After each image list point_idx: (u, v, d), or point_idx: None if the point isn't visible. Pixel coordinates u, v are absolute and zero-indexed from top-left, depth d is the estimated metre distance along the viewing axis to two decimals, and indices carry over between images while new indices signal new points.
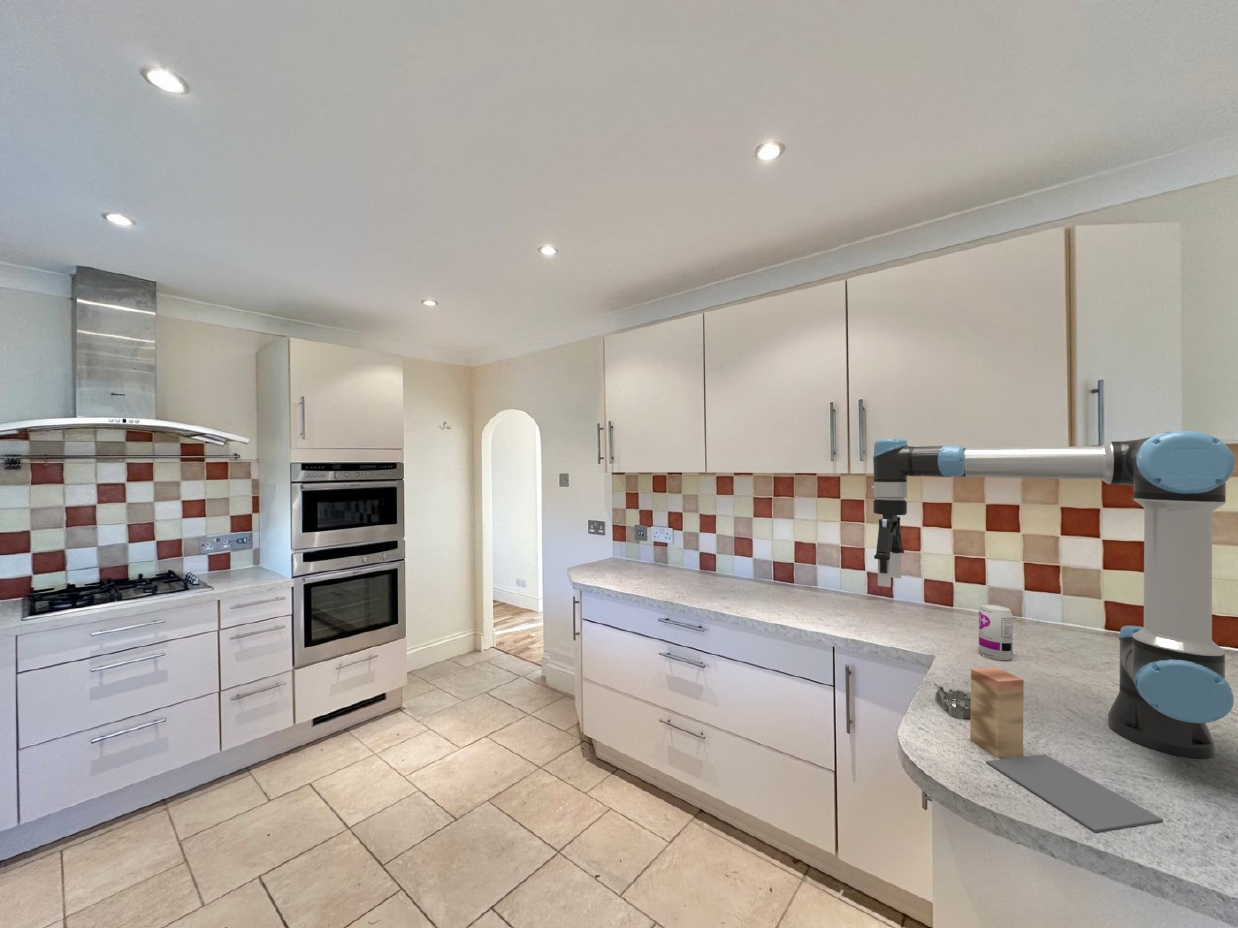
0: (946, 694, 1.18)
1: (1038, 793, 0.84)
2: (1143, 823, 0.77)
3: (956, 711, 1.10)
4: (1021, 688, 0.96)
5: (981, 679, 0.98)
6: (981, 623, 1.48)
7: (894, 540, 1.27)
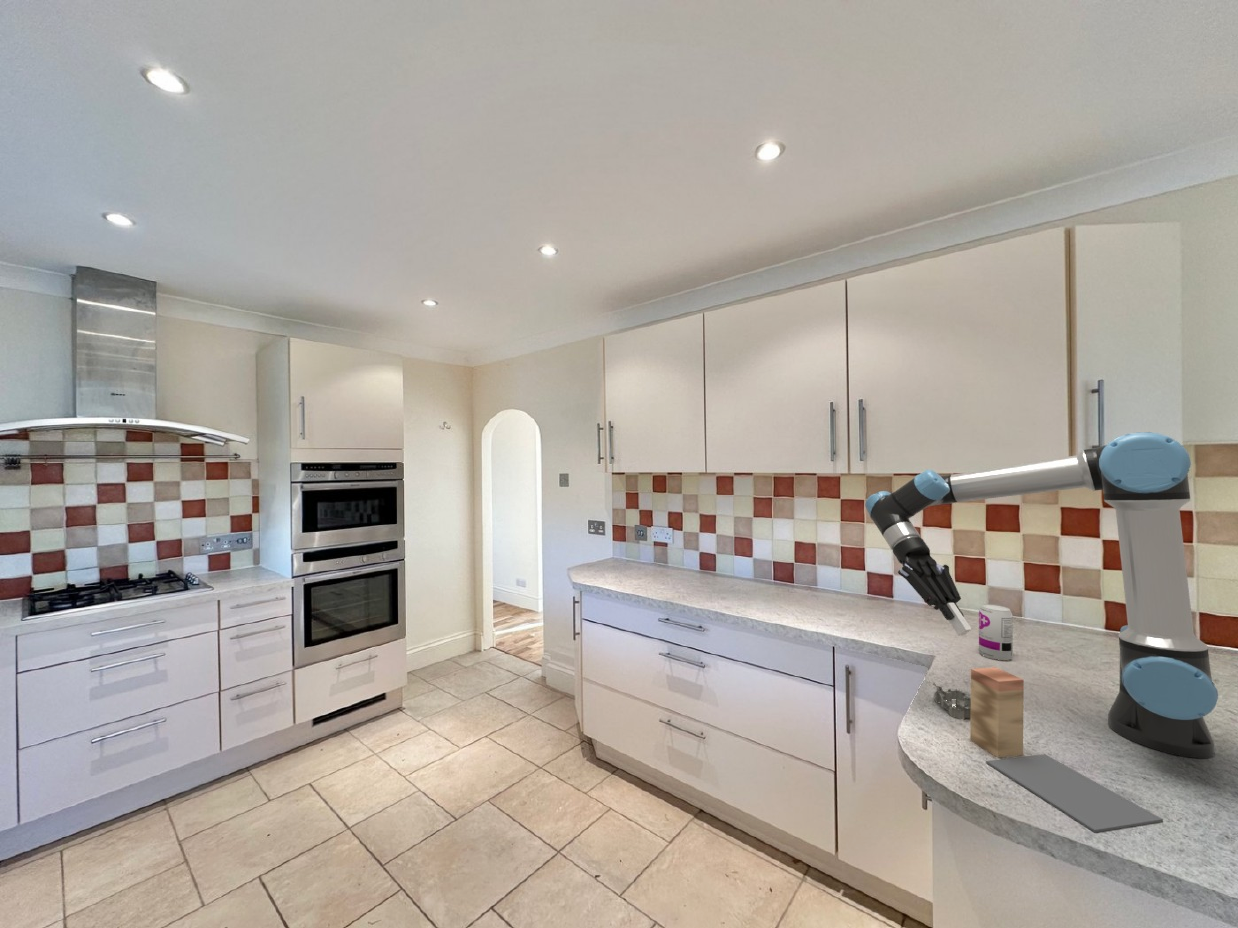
0: (945, 694, 1.18)
1: (1038, 793, 0.84)
2: (1143, 823, 0.77)
3: (956, 712, 1.10)
4: (1021, 688, 0.96)
5: (981, 678, 0.98)
6: (981, 623, 1.48)
7: (937, 584, 1.14)
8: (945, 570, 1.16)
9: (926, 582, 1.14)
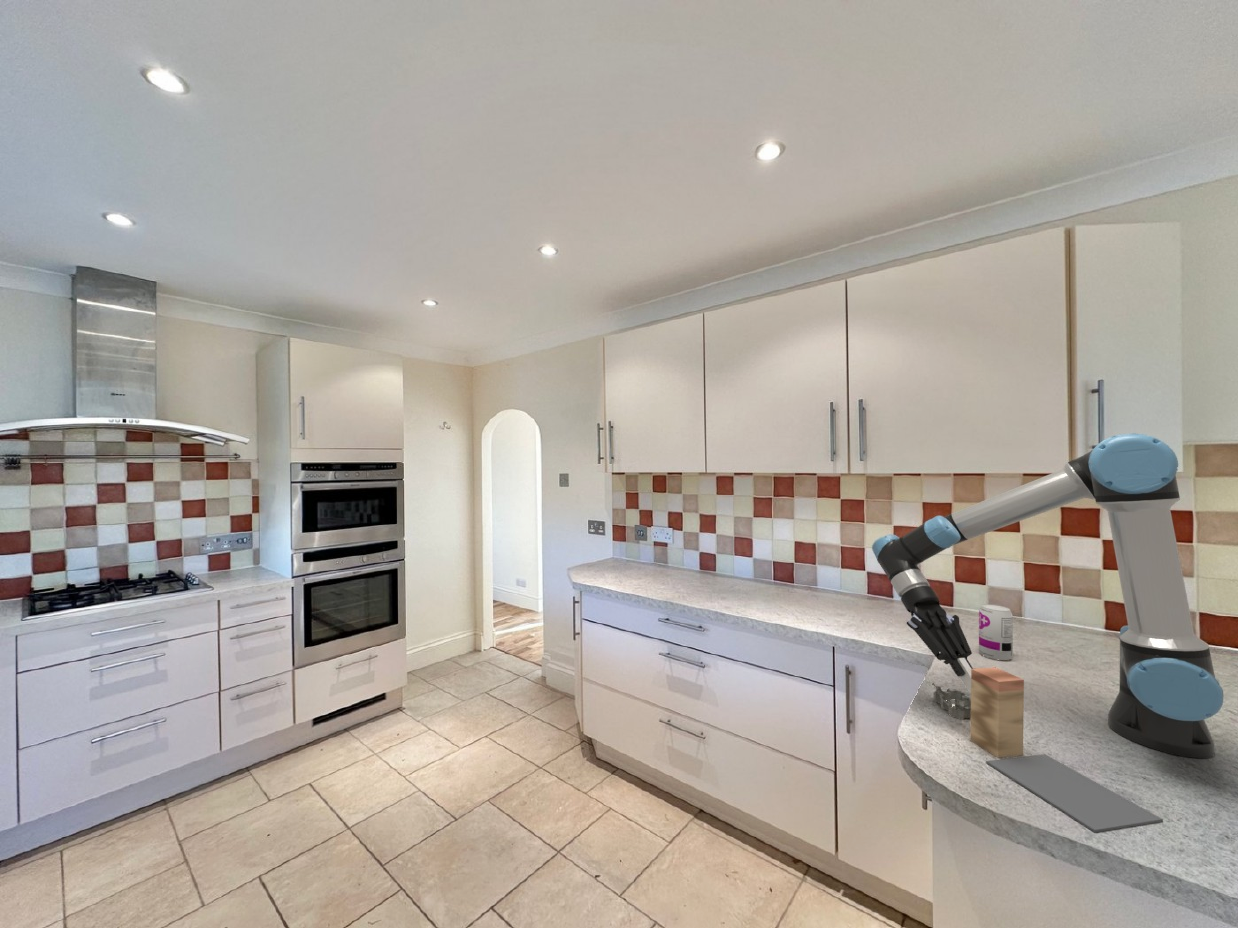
0: (944, 694, 1.18)
1: (1038, 793, 0.84)
2: (1143, 823, 0.77)
3: (956, 712, 1.10)
4: (1021, 688, 0.96)
5: (982, 679, 0.98)
6: (981, 623, 1.48)
7: (947, 637, 1.10)
8: (955, 621, 1.13)
9: (936, 635, 1.10)
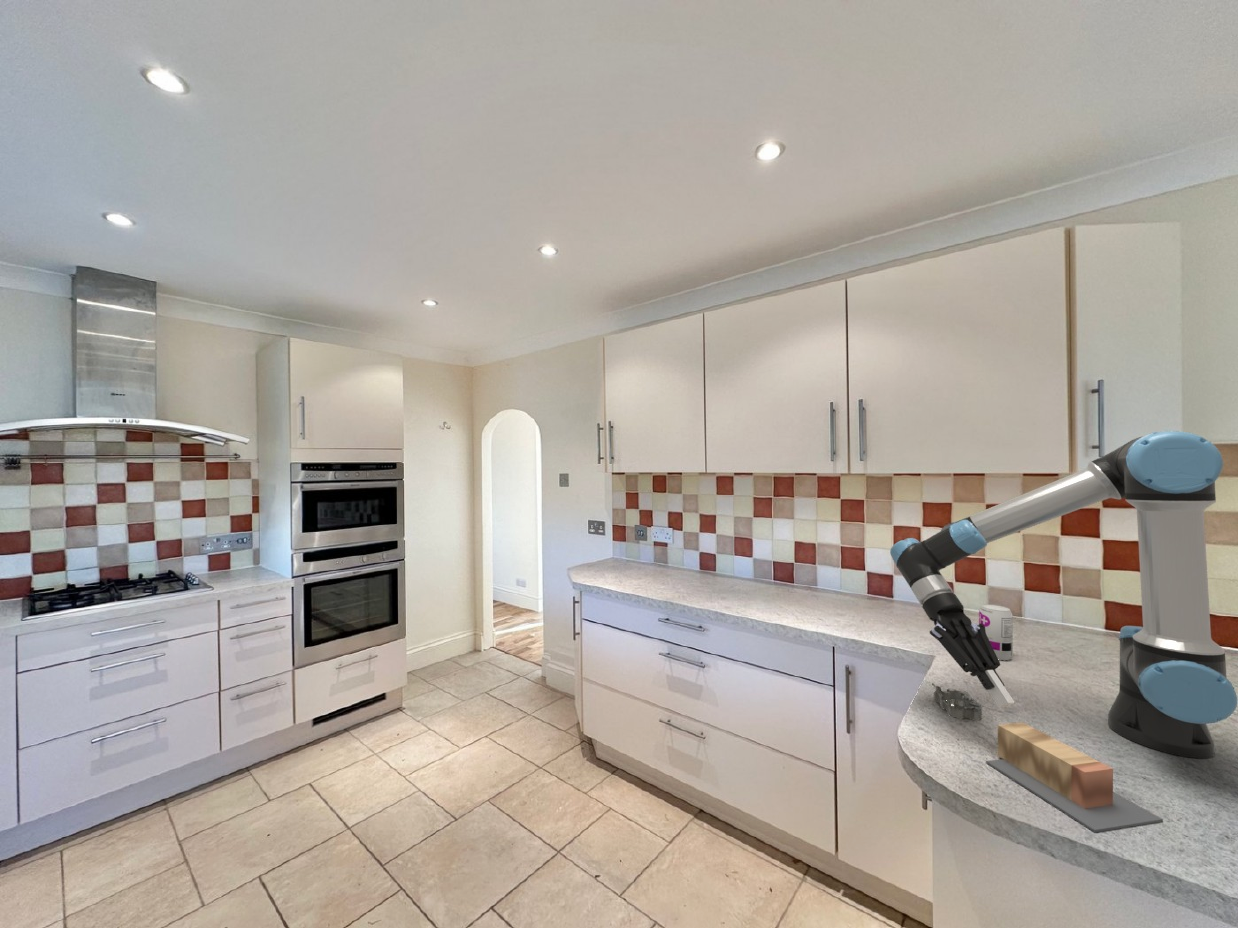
0: (944, 694, 1.18)
1: (1038, 793, 0.84)
2: (1143, 823, 0.77)
3: (954, 711, 1.10)
4: None
5: (1077, 782, 0.81)
6: (981, 623, 1.48)
7: (973, 647, 1.04)
8: (981, 630, 1.07)
9: (961, 645, 1.04)
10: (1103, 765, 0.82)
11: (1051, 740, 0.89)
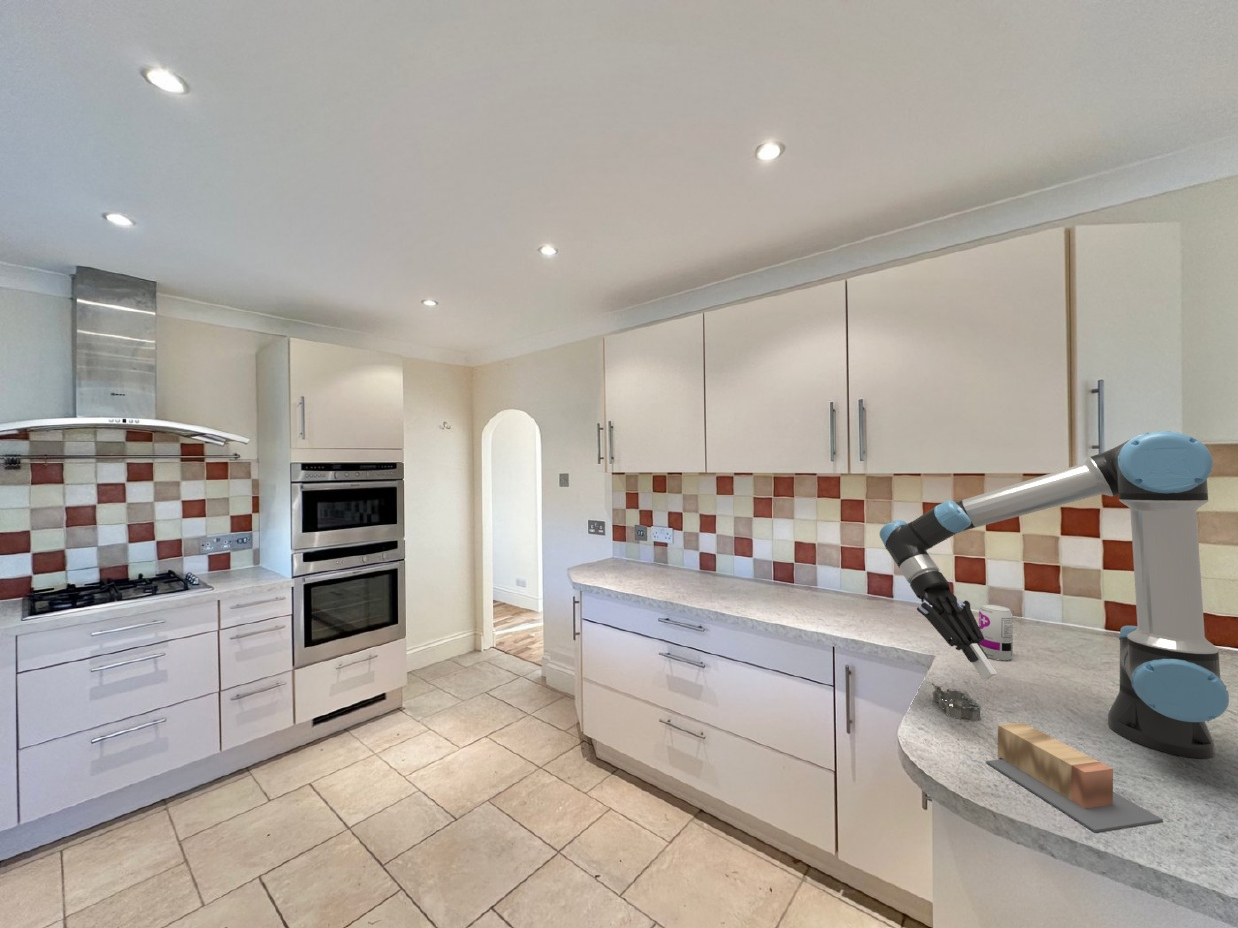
0: (943, 694, 1.18)
1: (1038, 793, 0.84)
2: (1143, 823, 0.77)
3: (953, 711, 1.10)
4: None
5: (1077, 782, 0.81)
6: (981, 623, 1.48)
7: (958, 623, 1.08)
8: (966, 607, 1.10)
9: (947, 620, 1.08)
10: (1103, 765, 0.82)
11: (1051, 740, 0.89)
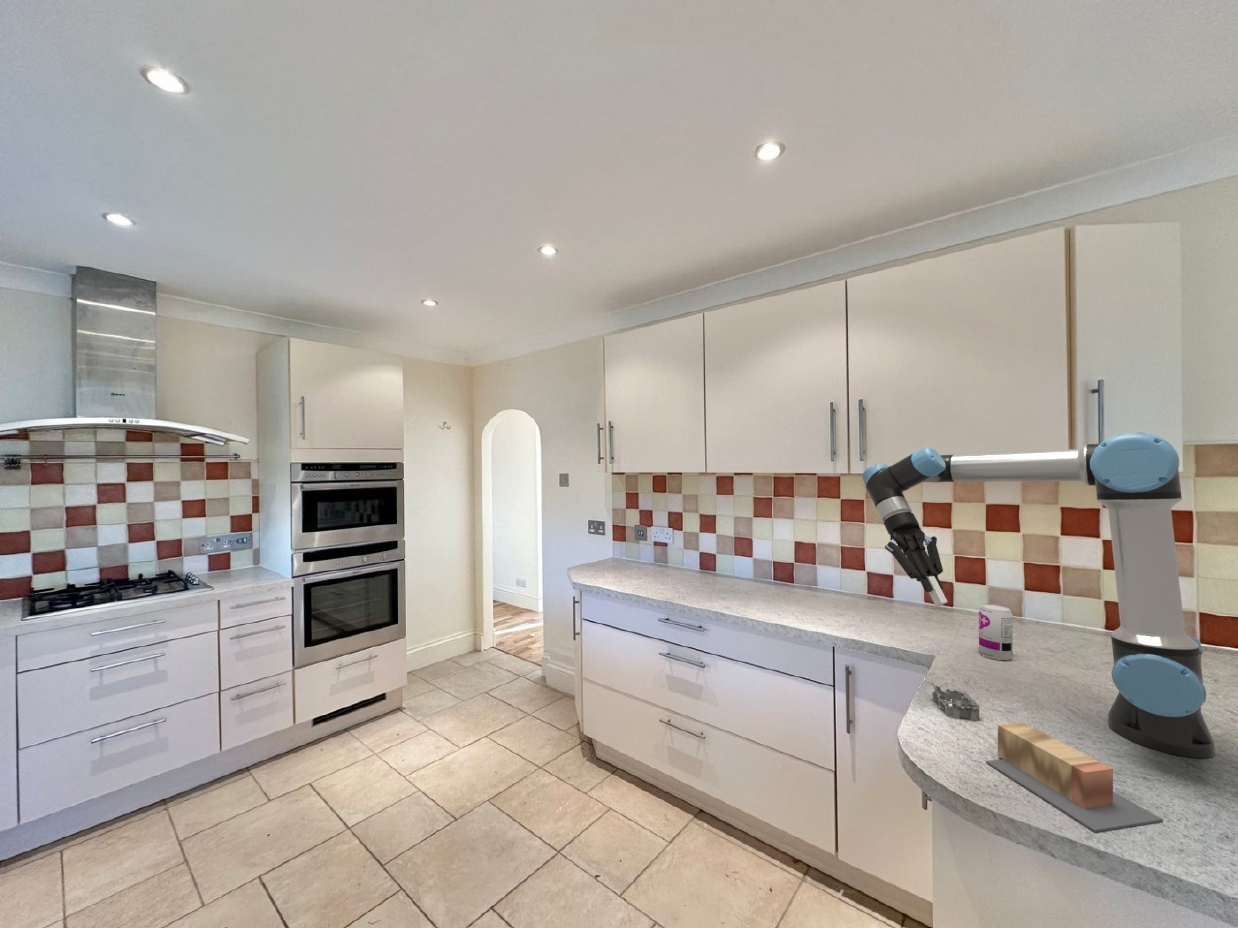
0: (943, 694, 1.18)
1: (1038, 793, 0.84)
2: (1143, 823, 0.77)
3: (951, 711, 1.10)
4: None
5: (1077, 782, 0.81)
6: (981, 623, 1.48)
7: (921, 557, 1.21)
8: (932, 542, 1.22)
9: (910, 556, 1.21)
10: (1103, 765, 0.82)
11: (1051, 740, 0.89)
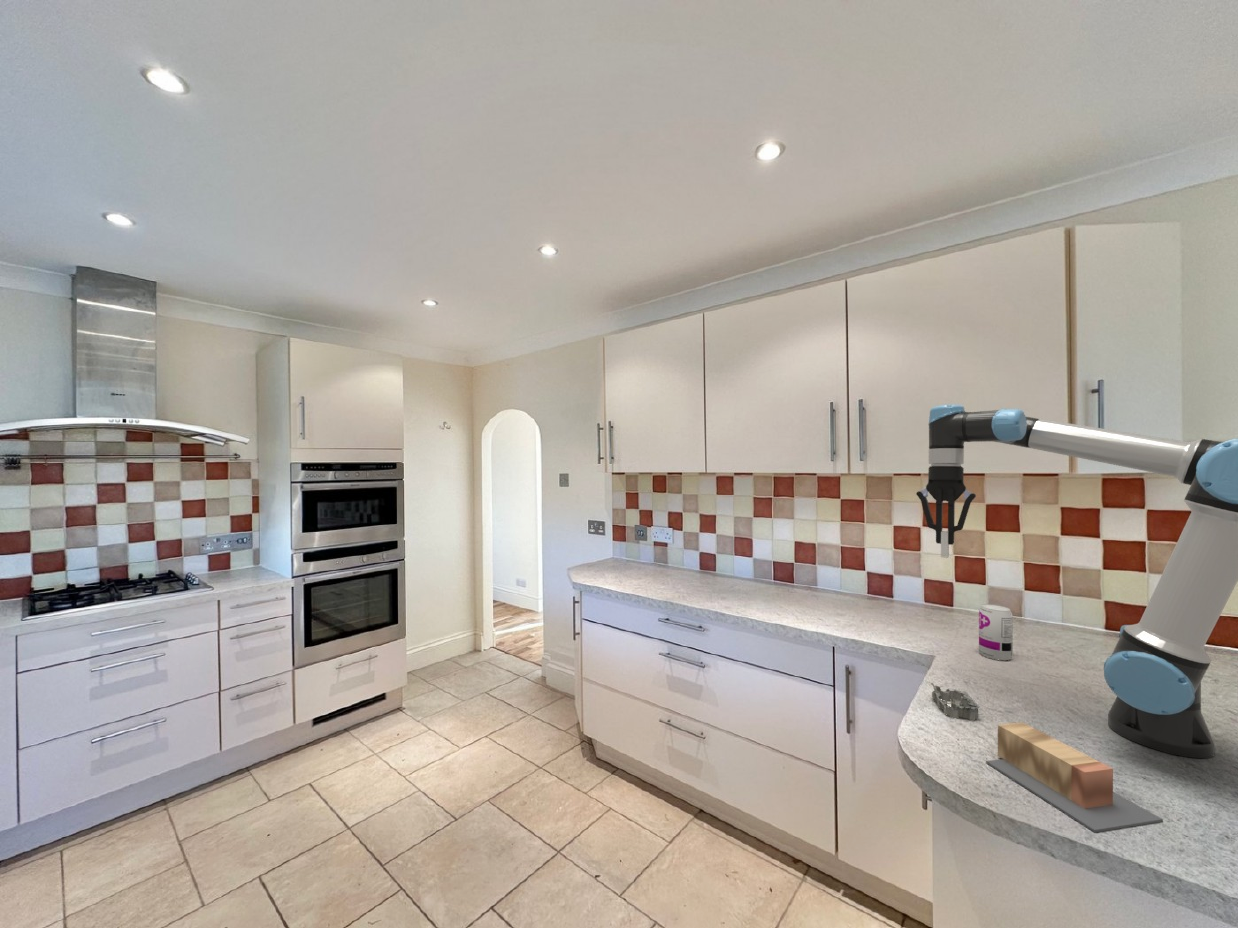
0: (943, 694, 1.18)
1: (1038, 793, 0.84)
2: (1143, 823, 0.77)
3: (950, 711, 1.11)
4: None
5: (1077, 782, 0.81)
6: (981, 623, 1.48)
7: (948, 511, 1.24)
8: (967, 499, 1.20)
9: (936, 508, 1.25)
10: (1103, 765, 0.82)
11: (1051, 740, 0.89)
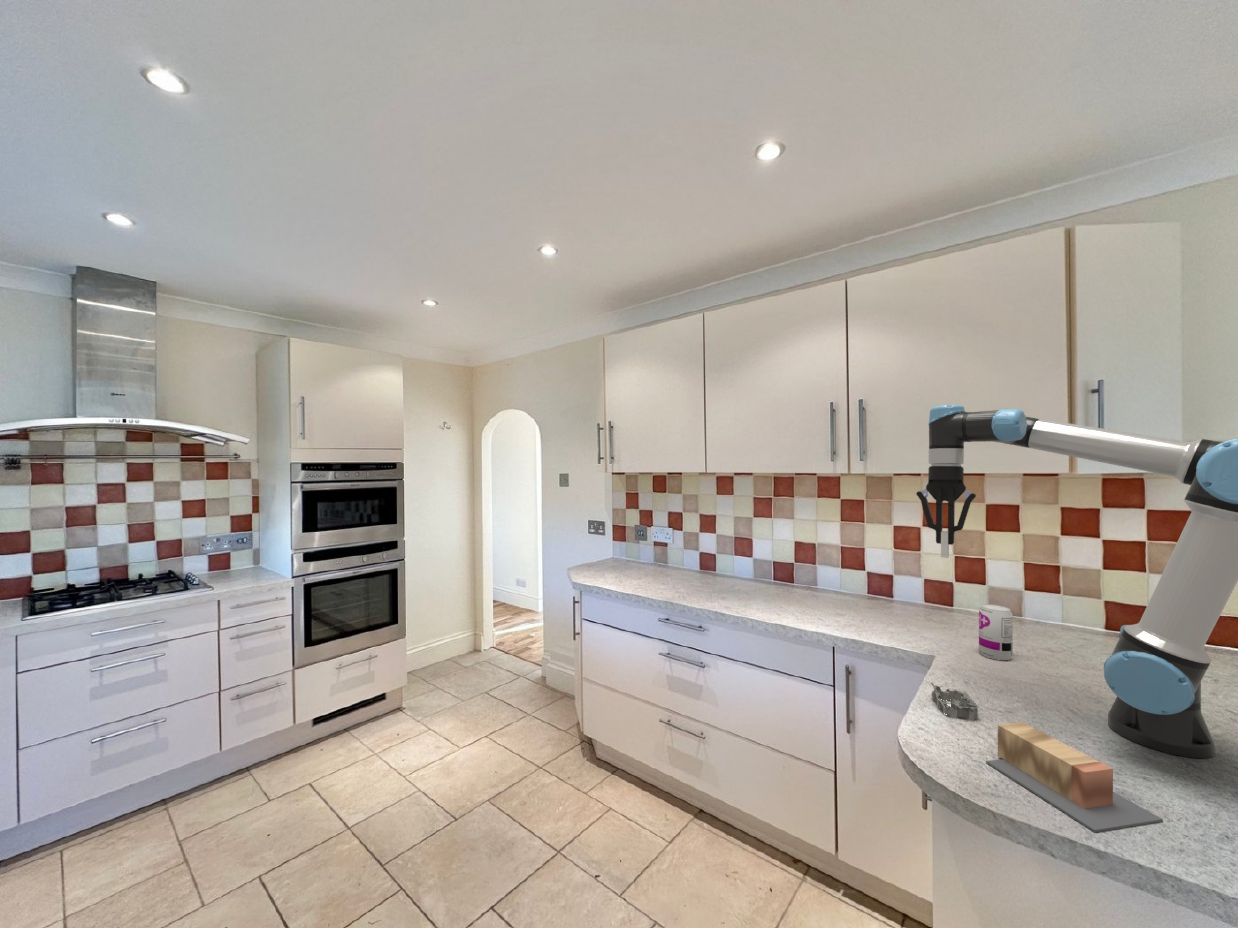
0: (943, 694, 1.18)
1: (1038, 793, 0.84)
2: (1143, 823, 0.77)
3: (949, 710, 1.11)
4: None
5: (1077, 782, 0.81)
6: (981, 623, 1.48)
7: (948, 511, 1.24)
8: (967, 499, 1.20)
9: (936, 508, 1.25)
10: (1103, 765, 0.82)
11: (1051, 740, 0.89)
